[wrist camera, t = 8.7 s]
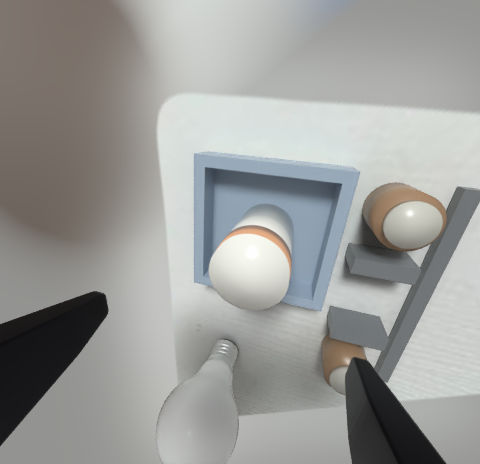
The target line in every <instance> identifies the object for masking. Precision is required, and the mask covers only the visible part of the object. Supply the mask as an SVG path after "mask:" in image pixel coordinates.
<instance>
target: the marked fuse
mask: <svg viewBox="0 0 480 464" xmlns="http://www.w3.org/2000/svg"><path fill="white" fill-rule="evenodd" d="M293 238H294V225H293V222H292V219H291V217H290V216H289V215H288V213H287V212H286V211H285V210H283V209H282V208H280V207H278V206H276V205H273V204H258V205H255V206H253V207H251V208H250V209H248V210H247V211H246V212H245V213H244V215H243V216H242V217H241V219H240V220H239V221H238V223H237V224H236V225H235V226H234V228H233V229H232V230H231V232H230V233H229V234H228V235H227V236H226V237H225V238H224V239H223V241H222V242H221V243H220V245H219V246H218V247H217V249H216V251H215V253H214V254H213V256H212V258H211V260H210V263H209V277H210V280H211V283H212V285H213V287H214V289H215V290H216V292H217V293H218V294H219V295H220V296H221V297H222V298H223V299H224V300H225V301H227V302H228V303H230V304H232V305H233V306H236V307H238V308H241V309H245V310H253V311H256V310H264V309H268V308H270V307H273V306H274V305H276V304H277V303H279V302H280V301H281V300H282V299H283V297H284V296H285V294H286V292H287V290H288V286H289V281H290V276H291V266H292V248H293Z"/></svg>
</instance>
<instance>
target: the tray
mask: <svg viewBox="0 0 480 464" xmlns="http://www.w3.org/2000/svg"><path fill="white" fill-rule="evenodd" d="M359 175H360V172H359V171H358V170H356V169H355V168H353V167H348V166H338V165H329V164H320V163H310V162H301V161H291V160H282V159H273V158H263V157H254V156H245V155H235V154H226V153H217V152H202V153H195V154H194V282H195V283H199V284H204V285H208V286H212V287H213V285H212V283H211V280H210V277H209V263H210V260H211V258H212V256H213V254H214V253H215V251H216V249H217V247H218V246H219V245H220V243H221V242H222V241H223V239H224V238H225V237H226V236H227V235H228V234H229V233H230V232H231V230H232V229H233V228H234V226H235V225H236V224H237V223H238V221H239V220H240V219H241V217H242V216H243V215H244V213H245V212H246V211H247V210H248V209H250V208H251V207H253V206H255V205H258V204H273V205H276V206H278V207H280V208H282V209H283V210H285V211H286V212H287V213H288V215H289V216H290V217H291V219H292V222H293V225H294V238H293V248H292V266H291V276H290V281H289V286H288V290H287V292H286V294H285V296H284V297H283V299H282V300H281V301H280V302H282V303H287V304H291V305H296V306H300V307H304V308H309V309H313V310H318V311H321V310H322V306H323V303H324V299H325V296H326V292H327V289H328V285H329V281H330V278H331V274H332V271H333V267H334V264H335V260H336V257H337V253H338V249H339V246H340V242H341V239H342V235H343V232H344V228H345V225H346V221H347V217H348V214H349V210H350V207H351V203H352V200H353V196H354V193H355V189H356V185H357V182H358V178H359Z"/></svg>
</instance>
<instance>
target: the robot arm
mask: <svg viewBox="0 0 480 464" xmlns="http://www.w3.org/2000/svg"><path fill="white" fill-rule="evenodd" d="M107 314H108V305H107V300H106V295H105V294H104V293H101V292H97V291H93V292H90V293H87V294H84V295H82V296H79V297H76V298H73V299H70V300H67V301H64V302H62V303H59V304H56V305H53V306H50V307H47V308H45V309H42V310H39V311H36V312H33V313H31V314H28V315H25V316H22V317H19V318H16V319H13V320H11V321H8V322H5V323H2V324H0V446H1V445H2V444H3V442H4V441H5V440H6V439H7V438H8V437H9V435H10V434H11V433H12V432H13V431H14V430H15V428H16V427H17V426H18V425H19V424H20V422H21V421H22V420H23V419H24V418H25V416H26V415H27V414H28V413H29V412H30V411H31V410H32V409H33V407H34V406H35V405H36V404H37V403H38V401H39V400H40V399H41V398H42V397H43V396H44V394H45V393H46V392H47V391H48V390H49V389H50V387H51V386H52V385H53V384H54V383H55V382H56V380H57V379H58V378H59V377H60V376H61V374H62V373H63V372H64V371H65V370H66V369H67V367H68V366H69V365H70V364H71V363H72V362H73V360H74V359H75V358H76V357H77V356H78V354H79V353H80V352H81V351H82V349H83V348H84V347H85V345H86V344H87V343H88V341H89V339H90V338H91V337H92V335H93V334H94V333H95V331H96V330H97V329H98V327H99V326H100V324H101V323H102V322H103V320H104V319H105V318H106V316H107ZM345 393H346V409H347V425H348V439H349V446H350V453H351V459H352V464H446V462H445V461H444V460H443V458H442V457H441V456H440V455H439V453H438V452H437V451H436V449H435V448H434V447H433V445H432V444H431V443H430V442H429V440H428V439H427V438H426V436H425V435H424V434H423V433H422V431H421V430H420V429H419V427H418V426H417V424H416V423H415V422H414V420H413V419H412V418H411V416H410V415H409V414H408V413H407V411H406V410H405V409H404V407H403V406H402V405H401V403H400V402H399V401H398V399H397V398H396V397H395V395H394V394H393V393H392V392H391V390H390V389H389V388H388V386H387V385H386V384H385V382H384V381H383V380H382V378H381V377H380V376H379V374H378V373H377V372H376V371H375V369H374V368H373V367H372V365H371V364H370V363H369V362H368V361H367V360H365V359H362V358H358V357H353V358H352V359H351V361H350V364H349V366H348V369H347V371H346V374H345Z"/></svg>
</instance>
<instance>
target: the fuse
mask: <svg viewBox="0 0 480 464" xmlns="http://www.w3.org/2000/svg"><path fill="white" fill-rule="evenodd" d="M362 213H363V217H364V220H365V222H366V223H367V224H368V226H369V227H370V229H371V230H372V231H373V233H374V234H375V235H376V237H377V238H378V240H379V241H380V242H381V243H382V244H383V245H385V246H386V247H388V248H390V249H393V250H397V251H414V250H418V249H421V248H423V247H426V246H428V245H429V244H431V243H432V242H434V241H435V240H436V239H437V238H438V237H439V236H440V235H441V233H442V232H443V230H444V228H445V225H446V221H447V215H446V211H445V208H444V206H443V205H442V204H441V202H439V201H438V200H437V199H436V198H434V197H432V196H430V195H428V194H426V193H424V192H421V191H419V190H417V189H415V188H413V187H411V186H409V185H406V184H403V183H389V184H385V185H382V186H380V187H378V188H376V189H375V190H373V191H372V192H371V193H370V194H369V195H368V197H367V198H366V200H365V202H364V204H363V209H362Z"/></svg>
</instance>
